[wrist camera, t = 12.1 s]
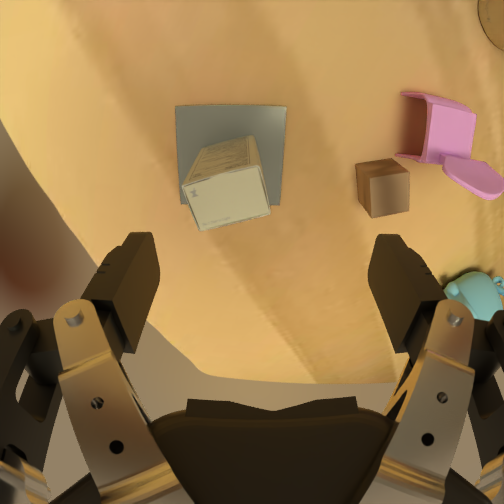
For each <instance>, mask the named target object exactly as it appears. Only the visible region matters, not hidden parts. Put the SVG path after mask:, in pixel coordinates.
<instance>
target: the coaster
mask: <svg viewBox="0 0 504 504" xmlns="http://www.w3.org/2000/svg"><path fill="white" fill-rule="evenodd" d="M286 108H287V107H286V106H275V105H247V104H211V105H184V106H175V113H176V138H177V157H178V173H179V187H180V199H181V204H188V203H187V200H186V198H185V195H184V192H183V189H182V184H183V182H184V180H185V179H186V177H187V175H188V173H189V171H190V169H191V167H192V165H193V163H194V161H195V159H196V158H197V156H198V154H199V152H200V150H201V148H204V147H207V146H210V145H213V144H217V143H220V142H224V141H228V140H232V139H236V138H240V137H244V136H249V135H254V137H255V141H256V145H257V148H258V152H259V156H260V161H261V165H262V170H263V175H264V180H265V185H266V190H267V195H268V201H269V205H280V195H281V182H282V168H283V154H284V139H285V124H286Z"/></svg>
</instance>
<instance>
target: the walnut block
mask: <svg viewBox="0 0 504 504" xmlns="http://www.w3.org/2000/svg"><path fill="white" fill-rule="evenodd" d="M355 166H356V176H357V187H358V200H359V202H360V203H361V204H362V206H363V207H364V209H365V210H366V211H367V213H368V214H369V215H370V217H371V218H377V217H382V216H387V215H392V214H397V213H402V212H407V211H409V189H410V184H409V171H408V170H406V169H405V168H404V167H402V166H401V165H400V164H398V163H397V162H396V161H395V160H393V159H392V158H391V159H384V160H377V161H370V162H364V163H358V164H355Z"/></svg>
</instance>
